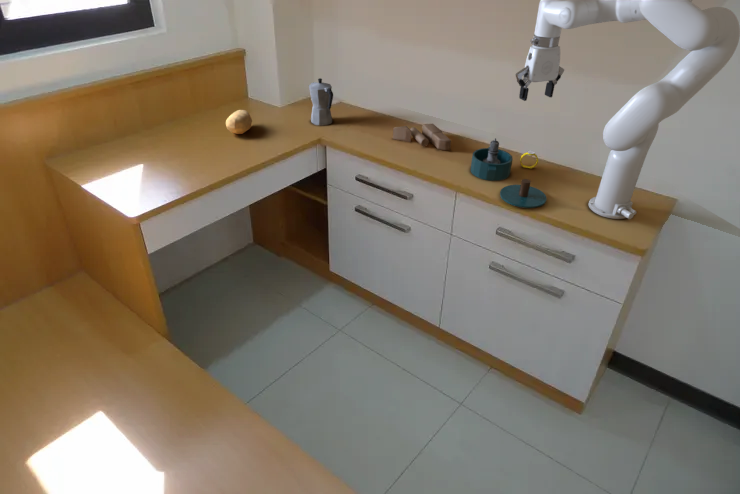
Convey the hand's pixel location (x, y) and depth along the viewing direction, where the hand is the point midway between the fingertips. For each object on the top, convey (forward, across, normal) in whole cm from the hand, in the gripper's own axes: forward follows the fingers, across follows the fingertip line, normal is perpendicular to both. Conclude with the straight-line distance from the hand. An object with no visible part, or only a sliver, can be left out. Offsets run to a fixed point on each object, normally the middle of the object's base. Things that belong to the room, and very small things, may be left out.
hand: (535, 97), depth 165 cm
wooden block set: (+26, -23, +33) cm, 48 cm away
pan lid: (+26, -11, -16) cm, 32 cm away
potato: (+24, -87, +68) cm, 113 cm away
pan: (+26, -10, +4) cm, 28 cm away
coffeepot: (+25, -53, +67) cm, 89 cm away
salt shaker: (+26, -10, +4) cm, 28 cm away
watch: (+26, +4, +3) cm, 27 cm away
